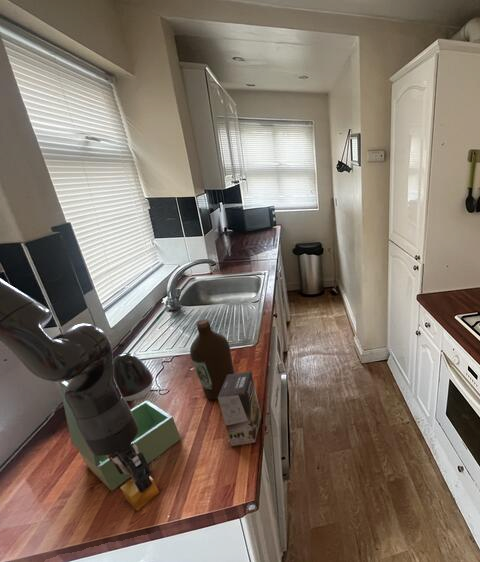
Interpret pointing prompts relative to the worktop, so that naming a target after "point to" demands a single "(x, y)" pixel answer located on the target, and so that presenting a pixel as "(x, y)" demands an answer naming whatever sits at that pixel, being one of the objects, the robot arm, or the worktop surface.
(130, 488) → the block
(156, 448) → the chest
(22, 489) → the worktop surface
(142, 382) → the dark rounded dome
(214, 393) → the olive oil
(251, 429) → the coffee box
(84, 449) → the chest lid
